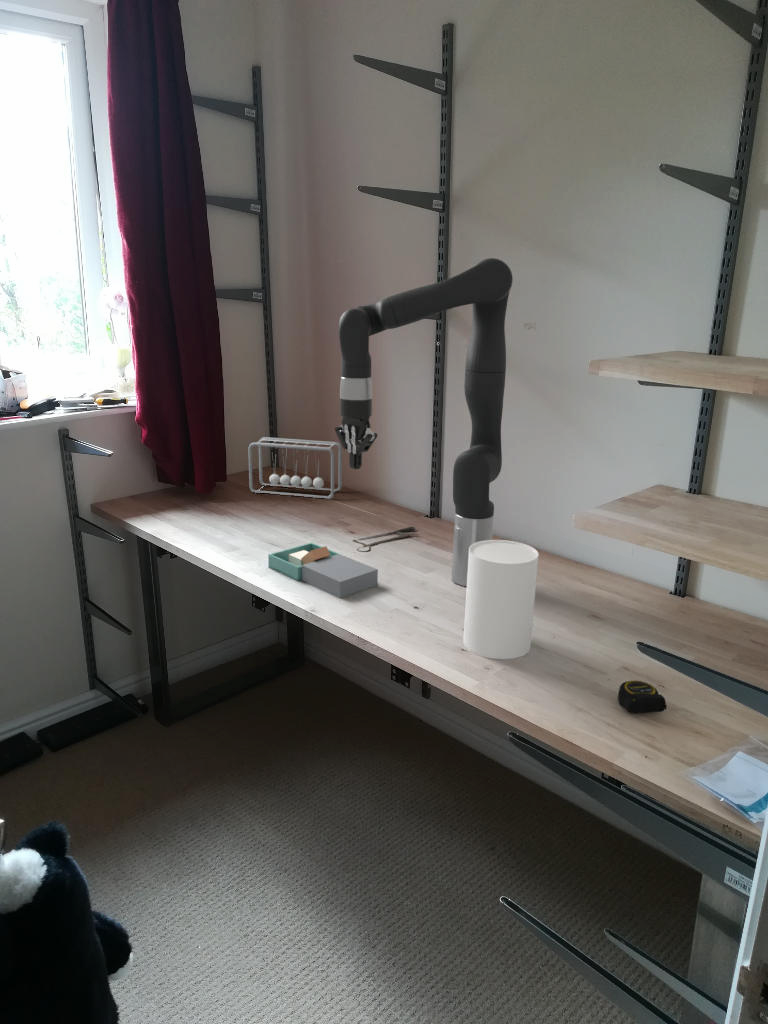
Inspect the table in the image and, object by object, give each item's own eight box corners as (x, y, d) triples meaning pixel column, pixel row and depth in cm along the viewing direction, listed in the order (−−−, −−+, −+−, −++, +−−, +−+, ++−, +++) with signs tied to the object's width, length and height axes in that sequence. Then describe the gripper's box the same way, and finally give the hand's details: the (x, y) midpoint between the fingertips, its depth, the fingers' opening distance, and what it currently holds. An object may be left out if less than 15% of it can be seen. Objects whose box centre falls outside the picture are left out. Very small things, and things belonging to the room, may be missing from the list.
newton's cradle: (341, 492, 258) (342, 442, 253) (333, 500, 248) (333, 448, 243) (260, 485, 264) (259, 436, 259) (249, 493, 254) (247, 442, 249)
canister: (475, 623, 160) (481, 535, 154) (537, 637, 155) (545, 546, 149) (453, 649, 148) (459, 555, 142) (519, 665, 143) (528, 568, 137)
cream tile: (304, 550, 192) (304, 559, 193) (288, 554, 189) (288, 563, 190) (316, 555, 189) (316, 564, 190) (300, 559, 186) (300, 569, 186)
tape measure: (627, 720, 126) (630, 700, 125) (610, 698, 132) (612, 679, 131) (665, 717, 127) (668, 698, 126) (646, 696, 133) (649, 677, 132)
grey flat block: (377, 584, 179) (377, 569, 178) (339, 598, 171) (340, 582, 170) (339, 568, 189) (339, 553, 188) (302, 580, 181) (302, 565, 180)
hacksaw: (413, 529, 221) (413, 525, 221) (433, 539, 213) (433, 534, 213) (342, 542, 209) (342, 537, 208) (361, 554, 200) (361, 548, 200)
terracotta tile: (330, 555, 185) (326, 546, 186) (314, 559, 182) (310, 550, 182) (320, 562, 189) (316, 554, 189) (305, 567, 185) (301, 558, 186)
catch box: (341, 567, 190) (341, 554, 189) (297, 581, 180) (297, 567, 179) (311, 554, 198) (311, 542, 197) (268, 567, 188) (268, 554, 187)
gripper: (387, 398, 172) (385, 470, 177) (349, 391, 181) (348, 461, 186) (363, 401, 167) (362, 475, 172) (325, 394, 176) (325, 465, 181)
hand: (355, 468), depth 179 cm, fingers closed
